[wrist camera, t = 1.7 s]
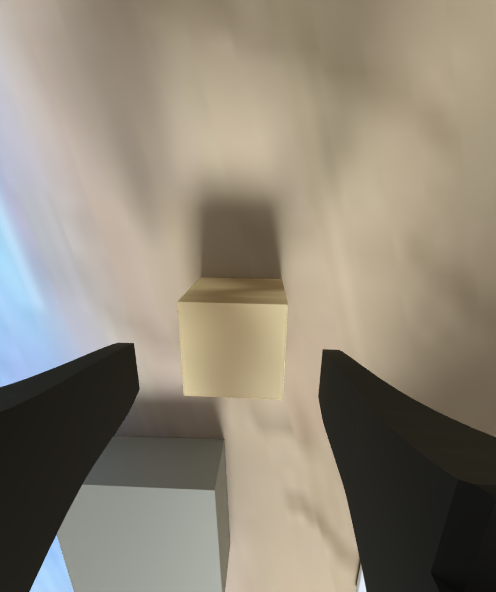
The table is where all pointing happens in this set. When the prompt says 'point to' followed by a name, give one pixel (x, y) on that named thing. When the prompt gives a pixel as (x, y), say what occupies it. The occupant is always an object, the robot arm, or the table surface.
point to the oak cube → (233, 338)
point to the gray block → (150, 518)
